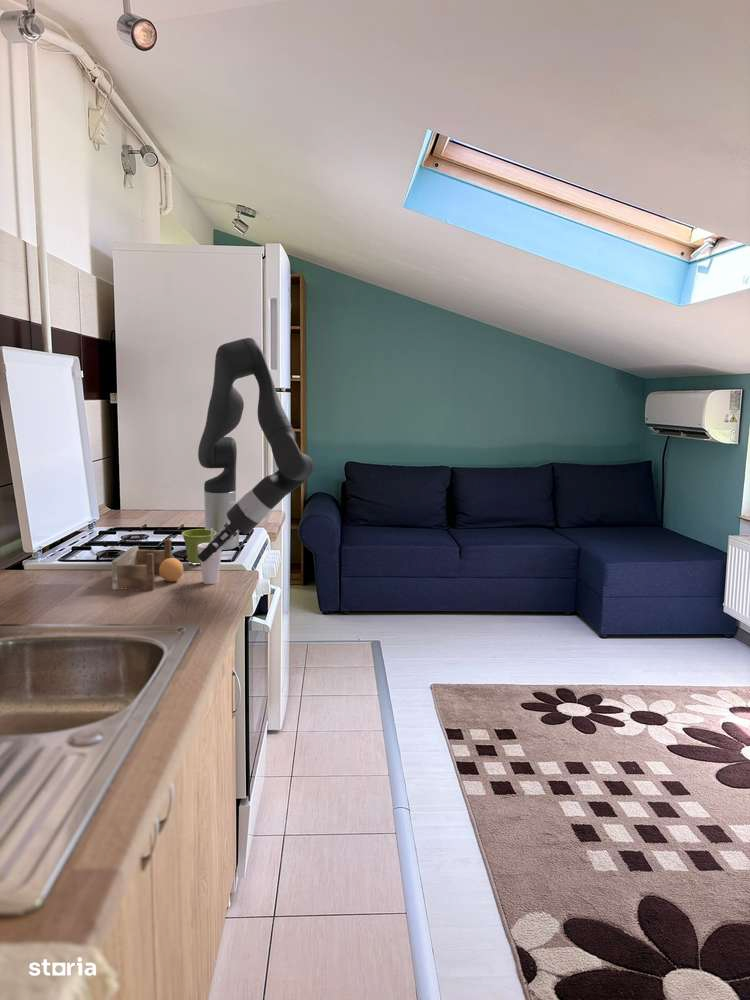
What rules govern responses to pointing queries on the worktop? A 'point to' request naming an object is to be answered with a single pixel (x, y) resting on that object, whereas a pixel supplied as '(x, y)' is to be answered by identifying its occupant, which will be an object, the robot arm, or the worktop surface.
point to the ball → (171, 569)
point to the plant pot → (196, 542)
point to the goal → (138, 567)
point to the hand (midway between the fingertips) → (203, 555)
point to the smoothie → (210, 563)
